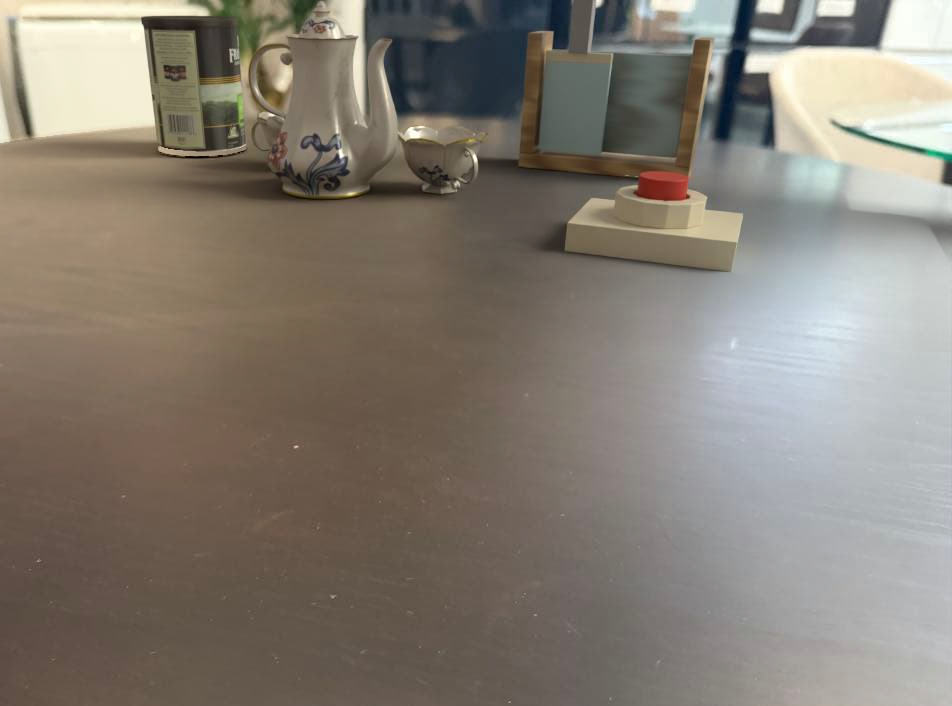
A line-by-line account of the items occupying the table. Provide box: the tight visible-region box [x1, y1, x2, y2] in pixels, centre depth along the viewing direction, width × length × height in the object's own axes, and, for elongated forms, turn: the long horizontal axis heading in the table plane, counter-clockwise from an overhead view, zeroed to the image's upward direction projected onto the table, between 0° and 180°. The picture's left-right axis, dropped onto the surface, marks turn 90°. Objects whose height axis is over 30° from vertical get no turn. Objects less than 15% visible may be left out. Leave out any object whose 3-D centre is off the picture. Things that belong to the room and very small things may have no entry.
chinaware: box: [247, 0, 489, 200], centre depth 79 cm, size 28×17×17 cm, turn 63°
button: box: [637, 171, 690, 201], centre depth 63 cm, size 4×4×2 cm
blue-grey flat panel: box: [538, 0, 613, 155], centre depth 87 cm, size 7×2×17 cm, turn 68°
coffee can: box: [140, 15, 247, 158], centre depth 94 cm, size 10×10×14 cm
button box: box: [564, 184, 744, 273], centre depth 64 cm, size 12×9×4 cm
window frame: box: [517, 30, 716, 179], centre depth 88 cm, size 18×5×14 cm, turn 68°
